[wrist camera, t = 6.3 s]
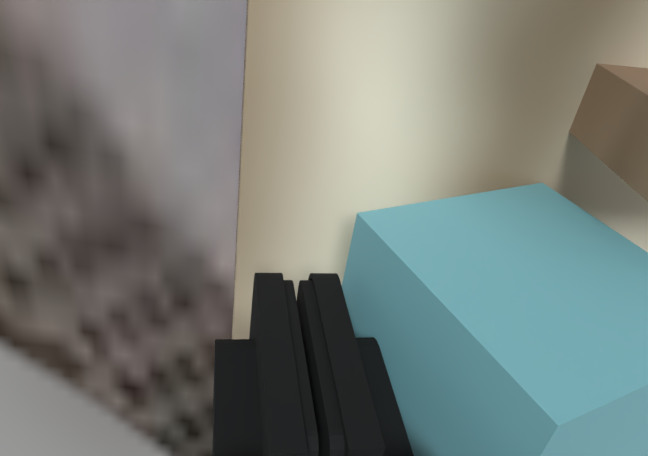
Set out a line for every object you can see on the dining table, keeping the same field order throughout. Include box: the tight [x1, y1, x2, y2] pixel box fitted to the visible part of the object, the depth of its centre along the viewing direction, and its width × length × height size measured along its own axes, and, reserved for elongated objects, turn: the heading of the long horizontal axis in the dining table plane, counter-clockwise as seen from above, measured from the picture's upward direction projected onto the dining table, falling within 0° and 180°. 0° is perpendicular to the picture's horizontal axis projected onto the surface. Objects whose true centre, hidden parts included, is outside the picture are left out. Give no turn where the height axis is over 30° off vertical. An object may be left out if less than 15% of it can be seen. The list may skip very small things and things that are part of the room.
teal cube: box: [342, 183, 648, 456], centre depth 11 cm, size 5×5×5 cm
